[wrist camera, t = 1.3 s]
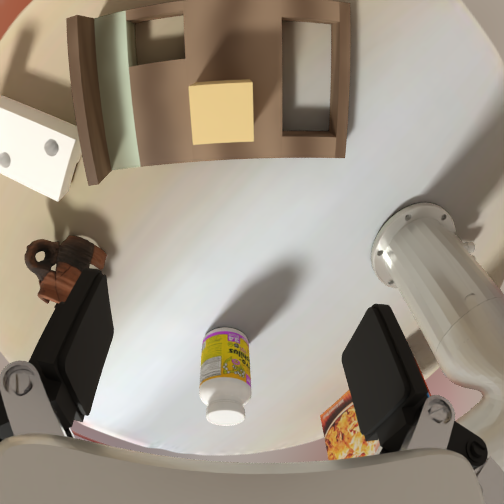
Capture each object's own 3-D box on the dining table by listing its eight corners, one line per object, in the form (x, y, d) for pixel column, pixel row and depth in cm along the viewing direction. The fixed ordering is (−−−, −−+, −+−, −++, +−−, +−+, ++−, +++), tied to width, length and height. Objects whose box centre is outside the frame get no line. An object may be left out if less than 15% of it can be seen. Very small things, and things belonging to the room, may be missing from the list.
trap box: (341, 7, 22) (365, -3, 17) (337, 150, 30) (357, 170, 25) (95, 23, 21) (66, 18, 16) (111, 163, 29) (88, 185, 24)
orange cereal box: (385, 353, 50) (437, 509, 25) (414, 357, 52) (466, 496, 27) (320, 415, 62) (342, 540, 37) (349, 416, 64) (374, 532, 39)
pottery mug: (129, 263, 37) (107, 326, 33) (95, 269, 42) (76, 321, 39) (51, 209, 29) (18, 277, 25) (30, 226, 34) (4, 281, 30)
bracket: (-9, 149, 27) (-47, 173, 20) (3, 94, 23) (-40, 110, 17) (71, 187, 31) (40, 220, 24) (90, 130, 27) (55, 152, 21)
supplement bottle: (256, 344, 46) (263, 421, 35) (219, 359, 47) (218, 432, 37) (232, 318, 42) (234, 401, 32) (193, 335, 44) (186, 414, 33)
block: (249, 79, 24) (252, 82, 20) (250, 129, 26) (253, 141, 22) (195, 82, 24) (188, 86, 20) (199, 132, 26) (192, 144, 22)
